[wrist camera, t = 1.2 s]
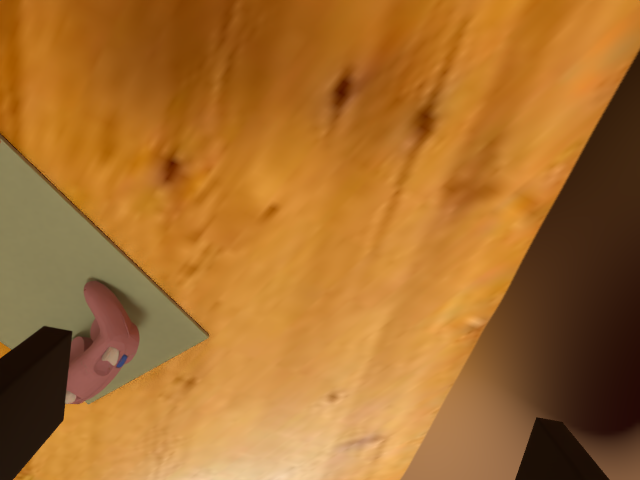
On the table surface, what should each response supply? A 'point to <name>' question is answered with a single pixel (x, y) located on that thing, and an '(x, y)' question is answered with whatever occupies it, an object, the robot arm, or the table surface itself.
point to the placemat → (74, 273)
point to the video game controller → (100, 345)
